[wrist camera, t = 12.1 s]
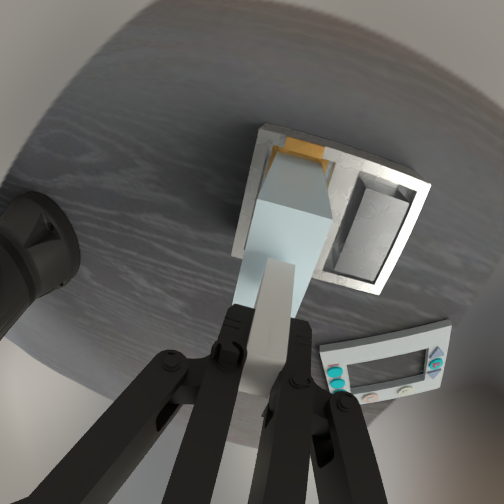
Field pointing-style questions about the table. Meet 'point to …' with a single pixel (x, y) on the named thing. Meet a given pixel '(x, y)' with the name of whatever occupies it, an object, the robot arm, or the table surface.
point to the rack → (345, 205)
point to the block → (286, 226)
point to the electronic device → (386, 346)
